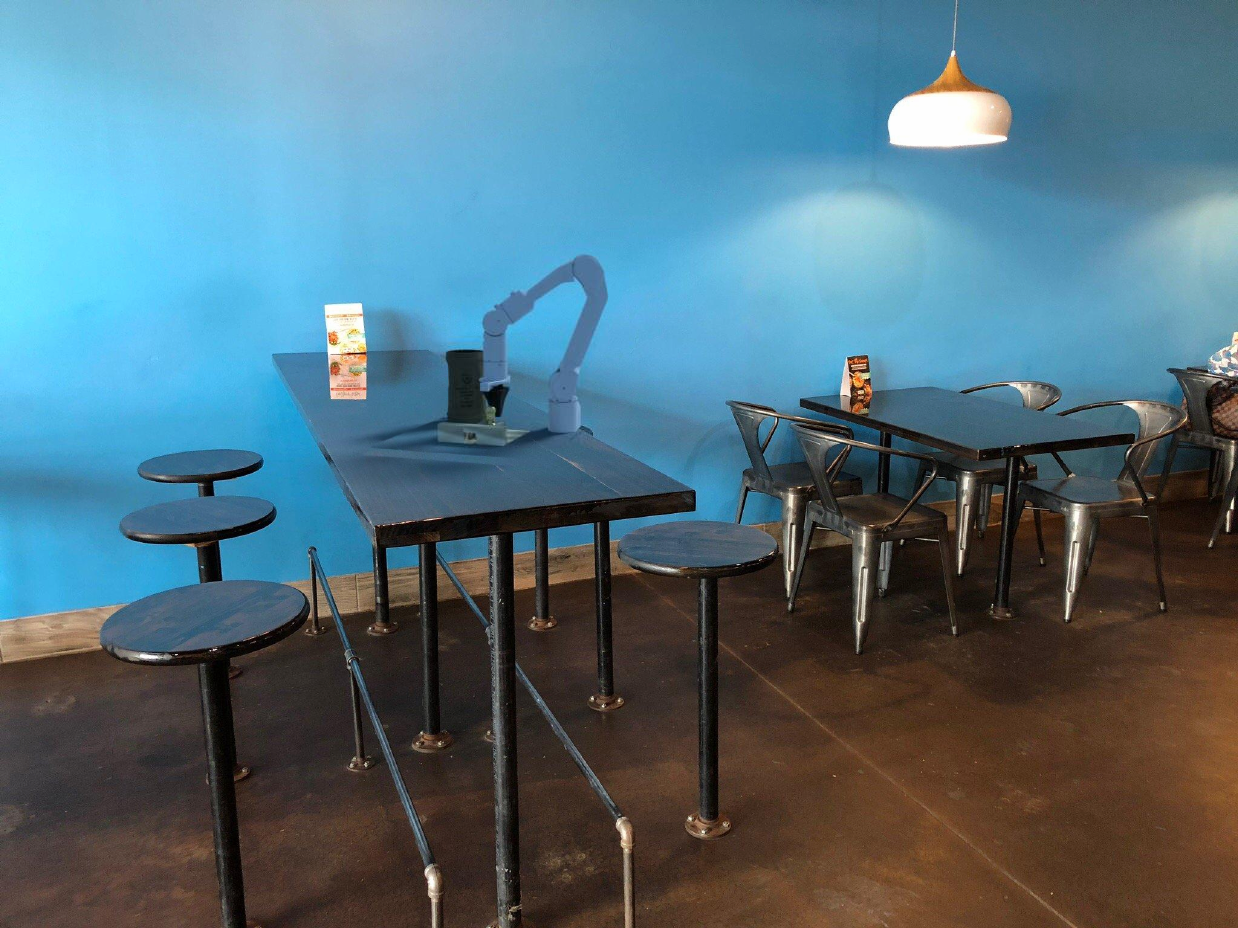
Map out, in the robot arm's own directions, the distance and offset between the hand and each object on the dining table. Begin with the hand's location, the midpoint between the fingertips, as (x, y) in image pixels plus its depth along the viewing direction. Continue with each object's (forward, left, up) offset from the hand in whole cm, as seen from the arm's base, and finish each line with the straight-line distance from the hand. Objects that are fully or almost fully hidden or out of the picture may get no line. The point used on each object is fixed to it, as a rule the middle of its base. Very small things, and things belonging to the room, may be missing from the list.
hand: (496, 416), depth 230 cm
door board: (+7, 0, -5) cm, 9 cm away
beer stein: (-11, -13, -5) cm, 18 cm away
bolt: (+7, 0, -3) cm, 7 cm away
